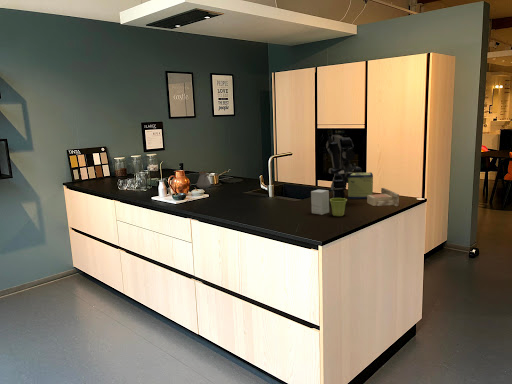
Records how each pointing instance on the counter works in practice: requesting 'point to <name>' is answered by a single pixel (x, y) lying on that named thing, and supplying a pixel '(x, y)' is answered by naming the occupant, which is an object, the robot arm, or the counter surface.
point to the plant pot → (338, 206)
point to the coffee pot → (203, 180)
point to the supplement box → (320, 201)
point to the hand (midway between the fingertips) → (345, 184)
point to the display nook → (394, 201)
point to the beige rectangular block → (378, 198)
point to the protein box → (360, 185)
